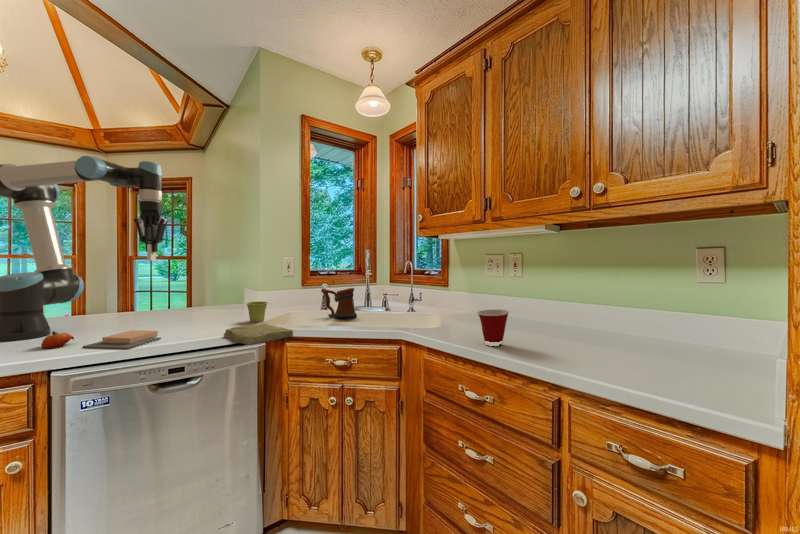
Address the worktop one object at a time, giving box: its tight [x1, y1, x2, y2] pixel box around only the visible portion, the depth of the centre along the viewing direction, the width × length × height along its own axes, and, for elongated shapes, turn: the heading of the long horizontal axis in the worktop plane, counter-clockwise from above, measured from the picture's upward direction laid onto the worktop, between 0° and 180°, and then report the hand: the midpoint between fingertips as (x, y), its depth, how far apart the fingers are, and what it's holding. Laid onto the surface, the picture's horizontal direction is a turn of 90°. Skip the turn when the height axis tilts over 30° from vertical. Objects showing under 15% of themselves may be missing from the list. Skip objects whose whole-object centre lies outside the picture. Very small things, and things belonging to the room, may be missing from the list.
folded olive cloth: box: [223, 323, 294, 346], centre depth 133 cm, size 19×20×4 cm
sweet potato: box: [40, 330, 75, 350], centre depth 117 cm, size 8×7×7 cm
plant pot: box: [245, 301, 269, 323], centre depth 164 cm, size 9×9×9 cm
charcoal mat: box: [82, 337, 162, 350], centre depth 121 cm, size 16×14×1 cm
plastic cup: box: [477, 308, 510, 342], centre depth 123 cm, size 11×11×12 cm
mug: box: [320, 287, 358, 320], centre depth 176 cm, size 18×12×15 cm, turn 85°
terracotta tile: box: [101, 329, 159, 344], centre depth 124 cm, size 10×2×12 cm
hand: (151, 260), depth 142 cm, fingers closed
